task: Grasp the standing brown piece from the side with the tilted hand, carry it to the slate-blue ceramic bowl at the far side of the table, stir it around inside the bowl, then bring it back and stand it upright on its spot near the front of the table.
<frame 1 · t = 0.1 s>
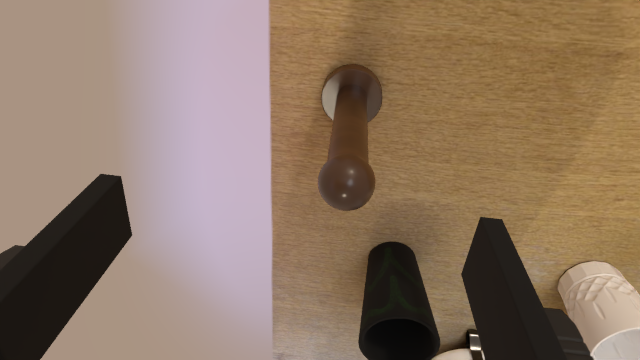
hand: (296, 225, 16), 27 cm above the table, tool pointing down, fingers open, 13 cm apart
white cup: (587, 281, 51), on the table
cup: (391, 258, 51), on the table
coffee press: (467, 357, 59), on the table
brown piece: (351, 93, 41), on the table
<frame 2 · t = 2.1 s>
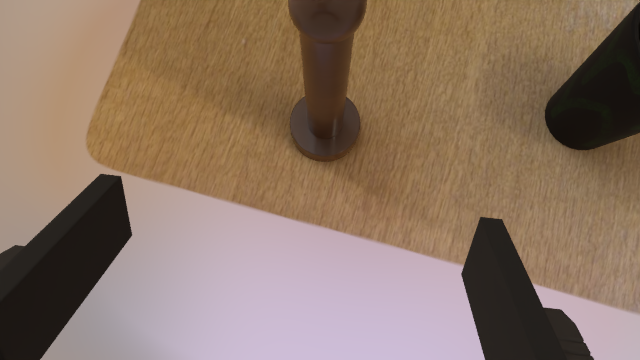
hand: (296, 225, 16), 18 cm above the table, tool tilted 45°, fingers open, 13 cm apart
cup: (577, 119, 36), on the table
brown piece: (324, 129, 36), on the table
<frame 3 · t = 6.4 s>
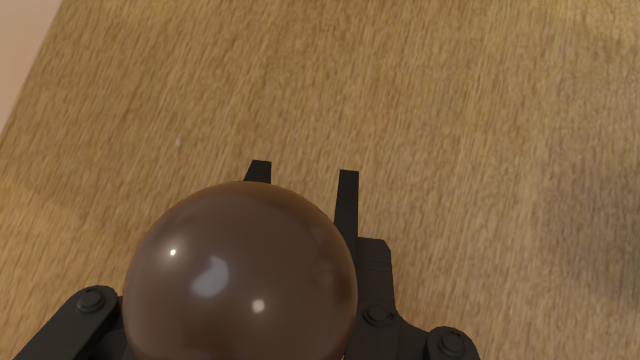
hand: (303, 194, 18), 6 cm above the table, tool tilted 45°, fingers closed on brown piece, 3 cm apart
brown piece: (299, 289, 23), on the table, touching gripper
when the fingers open (6 cm above the table, at t = 33.5 s): brown piece stays where it is, on the table.
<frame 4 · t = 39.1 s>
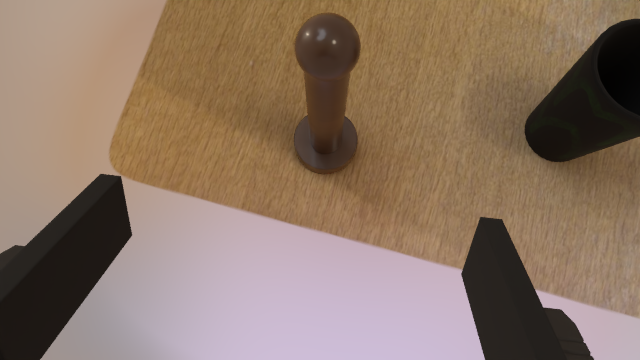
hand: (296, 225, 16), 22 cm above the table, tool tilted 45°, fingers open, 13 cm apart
cup: (553, 133, 40), on the table
brown piece: (325, 144, 40), on the table
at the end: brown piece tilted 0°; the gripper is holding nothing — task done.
